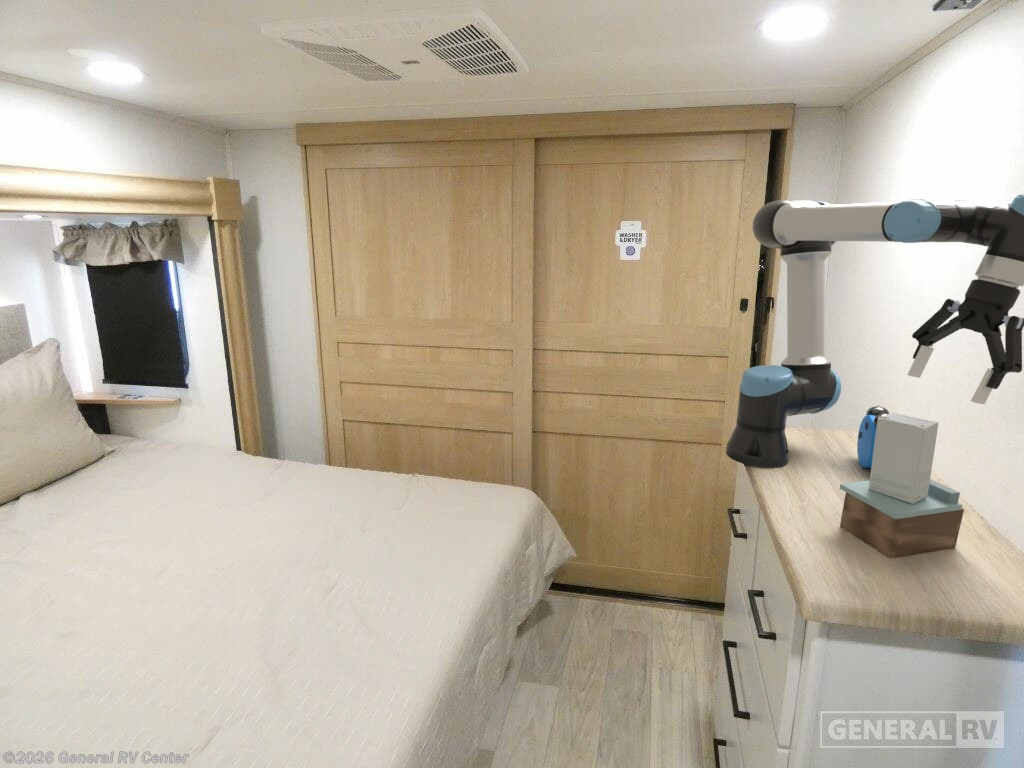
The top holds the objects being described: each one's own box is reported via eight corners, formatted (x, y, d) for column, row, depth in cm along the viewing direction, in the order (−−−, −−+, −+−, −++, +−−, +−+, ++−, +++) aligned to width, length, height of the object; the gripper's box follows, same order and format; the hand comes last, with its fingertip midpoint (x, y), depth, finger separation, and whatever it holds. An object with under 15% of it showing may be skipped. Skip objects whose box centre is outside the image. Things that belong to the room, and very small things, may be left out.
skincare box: (927, 498, 111) (943, 422, 107) (911, 506, 107) (927, 428, 103) (880, 481, 117) (893, 410, 113) (864, 488, 114) (877, 415, 110)
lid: (839, 488, 117) (841, 474, 116) (900, 480, 120) (903, 467, 120) (895, 519, 105) (898, 503, 104) (961, 509, 108) (964, 494, 108)
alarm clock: (894, 479, 141) (906, 419, 137) (865, 476, 143) (876, 417, 139) (879, 459, 153) (889, 403, 149) (852, 456, 155) (862, 401, 151)
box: (839, 526, 119) (846, 490, 117) (899, 518, 122) (906, 482, 120) (890, 558, 107) (898, 518, 105) (955, 548, 111) (964, 509, 109)
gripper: (1086, 303, 99) (1022, 417, 106) (949, 273, 121) (903, 369, 128) (1058, 295, 97) (994, 413, 103) (923, 265, 119) (877, 364, 125)
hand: (943, 389), depth 116 cm, fingers open, 13 cm apart
